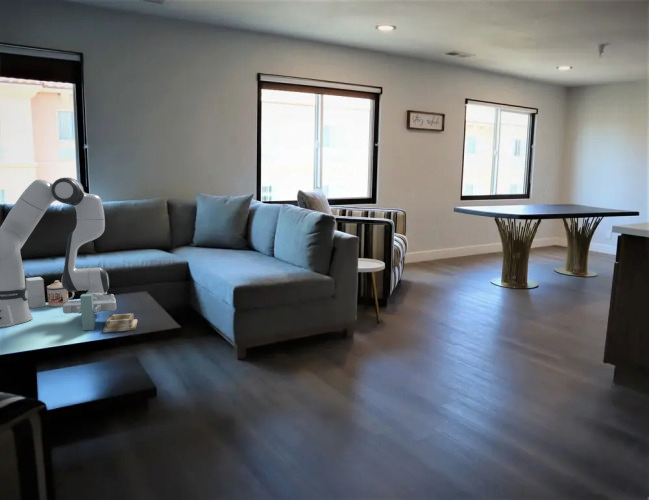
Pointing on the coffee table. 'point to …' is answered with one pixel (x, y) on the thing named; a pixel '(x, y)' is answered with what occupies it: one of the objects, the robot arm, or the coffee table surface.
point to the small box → (35, 292)
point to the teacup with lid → (57, 294)
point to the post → (87, 312)
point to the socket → (120, 323)
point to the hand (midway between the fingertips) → (87, 311)
